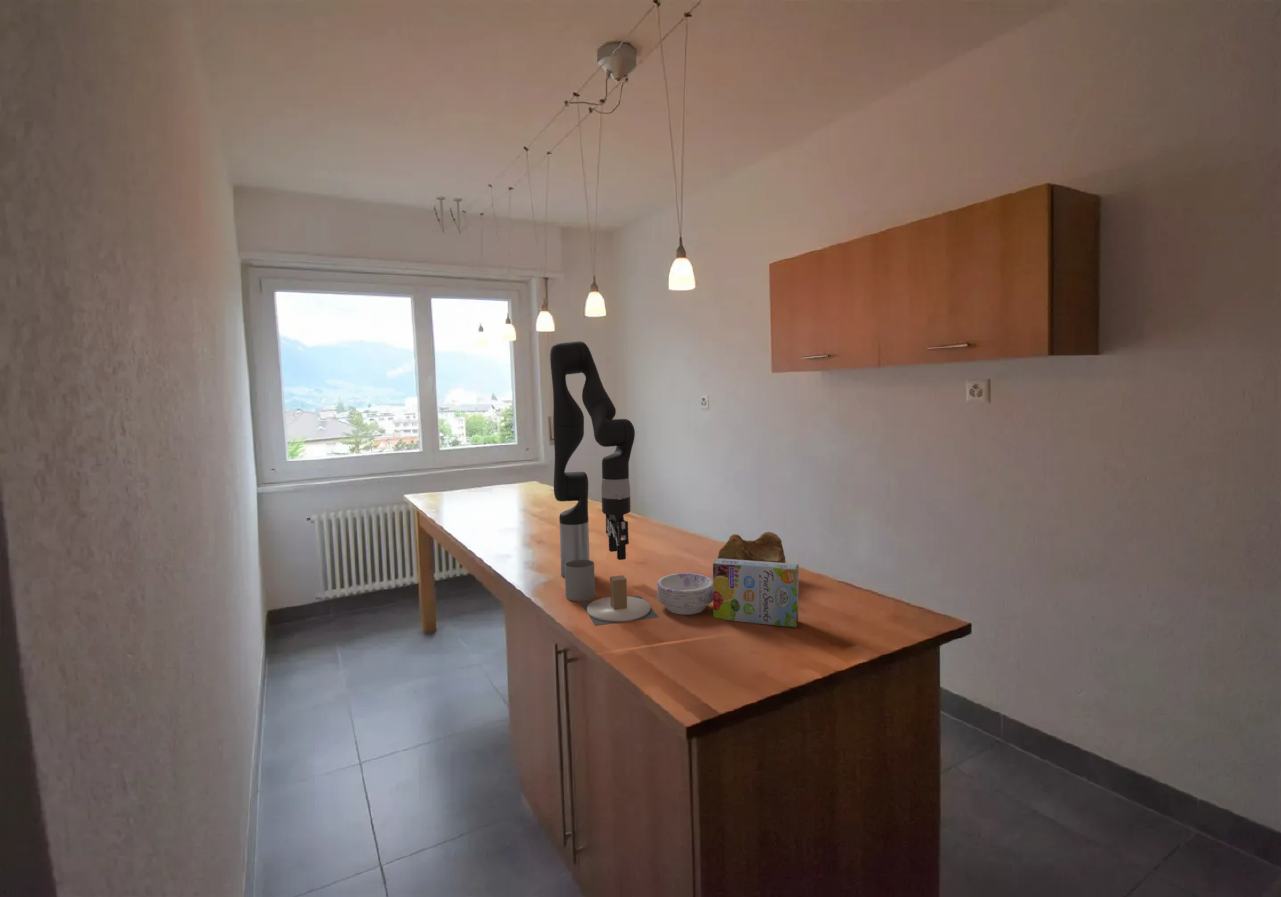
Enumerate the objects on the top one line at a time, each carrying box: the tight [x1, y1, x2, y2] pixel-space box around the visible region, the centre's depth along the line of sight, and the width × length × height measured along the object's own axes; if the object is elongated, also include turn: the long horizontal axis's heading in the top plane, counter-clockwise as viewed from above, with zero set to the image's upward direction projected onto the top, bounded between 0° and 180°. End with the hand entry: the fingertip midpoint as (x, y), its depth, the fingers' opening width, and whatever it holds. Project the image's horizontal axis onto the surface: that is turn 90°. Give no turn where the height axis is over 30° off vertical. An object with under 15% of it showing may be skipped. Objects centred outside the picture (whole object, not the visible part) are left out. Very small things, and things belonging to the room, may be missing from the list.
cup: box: [564, 559, 596, 602], centre depth 176 cm, size 8×8×10 cm
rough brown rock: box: [717, 531, 786, 563], centre depth 185 cm, size 23×17×15 cm
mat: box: [580, 595, 660, 627], centre depth 165 cm, size 17×17×1 cm
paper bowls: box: [656, 572, 713, 616], centre depth 166 cm, size 15×15×8 cm
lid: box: [586, 575, 651, 623], centre depth 165 cm, size 17×17×9 cm
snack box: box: [712, 557, 800, 628], centre depth 157 cm, size 21×6×15 cm, turn 71°
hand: (617, 555), depth 163 cm, fingers open, 8 cm apart
